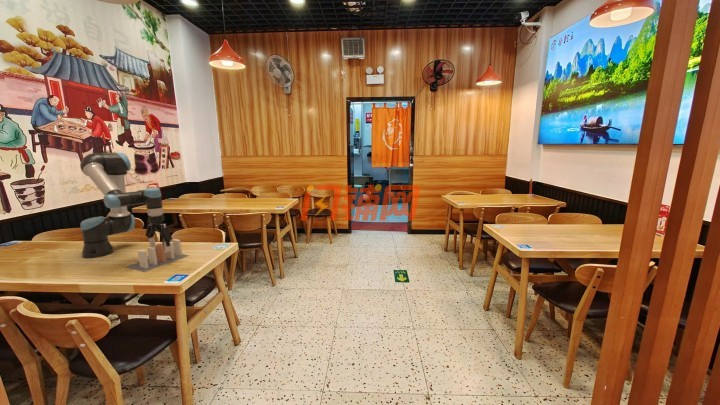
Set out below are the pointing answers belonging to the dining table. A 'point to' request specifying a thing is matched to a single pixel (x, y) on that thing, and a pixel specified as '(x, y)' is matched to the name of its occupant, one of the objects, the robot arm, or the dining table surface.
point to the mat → (138, 268)
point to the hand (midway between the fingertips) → (160, 249)
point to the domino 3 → (161, 252)
